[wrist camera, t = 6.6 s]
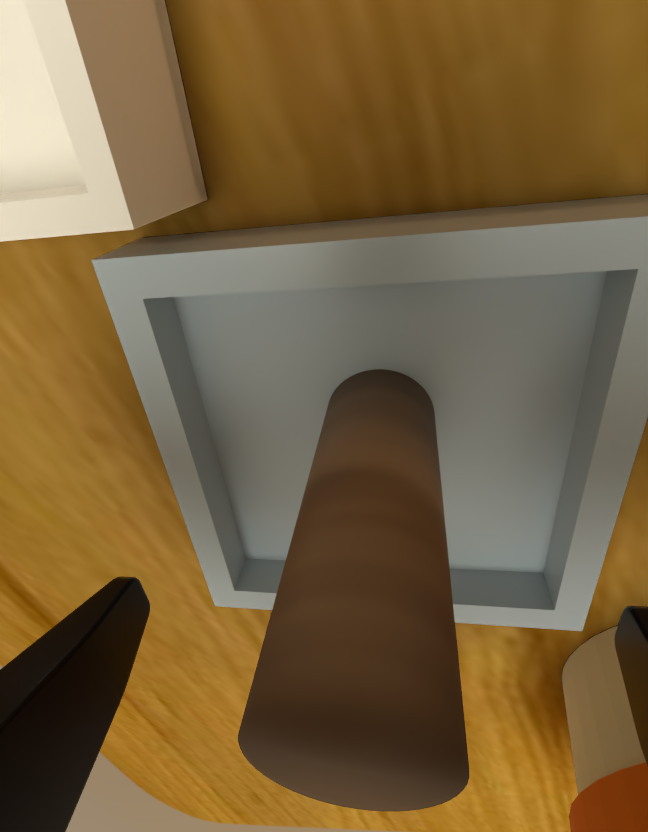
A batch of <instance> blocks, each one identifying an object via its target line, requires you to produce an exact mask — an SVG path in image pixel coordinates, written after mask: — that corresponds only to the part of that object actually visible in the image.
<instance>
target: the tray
mask: <svg viewBox="0 0 648 832" xmlns="http://www.w3.org/2000/svg"><path fill="white" fill-rule="evenodd" d="M92 263H93V266H94V269H95V272H96V274H97V277H98V280H99V283H100V286H101V288H102V291H103V294H104V297H105V300H106V302H107V305H108V308H109V311H110V314H111V316H112V319H113V322H114V325H115V328H116V330H117V333H118V336H119V339H120V342H121V344H122V347H123V350H124V353H125V356H126V358H127V361H128V364H129V367H130V370H131V372H132V375H133V378H134V381H135V384H136V386H137V389H138V392H139V395H140V398H141V400H142V403H143V406H144V409H145V412H146V414H147V417H148V420H149V423H150V426H151V428H152V431H153V434H154V437H155V440H156V442H157V445H158V448H159V451H160V454H161V456H162V459H163V462H164V465H165V468H166V470H167V473H168V476H169V479H170V482H171V484H172V487H173V490H174V493H175V496H176V498H177V501H178V504H179V507H180V510H181V512H182V515H183V518H184V521H185V524H186V526H187V529H188V532H189V535H190V538H191V540H192V543H193V546H194V549H195V552H196V554H197V557H198V560H199V563H200V566H201V568H202V571H203V574H204V577H205V580H206V582H207V585H208V588H209V591H210V594H211V596H212V599H213V602H214V605H215V606H220V607H235V608H249V609H264V610H272V609H273V605H274V602H275V598H276V594H277V591H278V587H279V583H280V580H281V576H282V572H283V569H284V565H285V561H286V558H287V554H288V550H289V547H290V543H291V539H292V536H293V532H294V528H295V525H296V521H297V517H298V514H299V510H300V506H301V503H302V499H303V495H304V492H305V488H306V484H307V481H308V477H309V473H310V470H311V466H312V462H313V459H314V455H315V451H316V448H317V444H318V440H319V437H320V433H321V429H322V426H323V422H324V418H325V415H326V411H327V407H328V404H329V400H330V398H331V396H332V394H333V392H334V391H335V389H336V388H337V387H338V386H339V385H340V384H341V383H342V382H343V381H344V380H346V379H347V378H349V377H350V376H353V375H355V374H357V373H360V372H363V371H367V370H375V369H385V370H392V371H396V372H399V373H402V374H404V375H407V376H409V377H410V378H412V379H414V380H415V381H416V382H418V383H419V384H420V385H421V386H422V387H423V388H424V389H425V391H426V392H427V393H428V395H429V397H430V398H431V401H432V403H433V407H434V413H435V424H436V434H437V444H438V455H439V465H440V475H441V485H442V496H443V506H444V516H445V527H446V537H447V547H448V557H449V568H450V578H451V588H452V599H453V609H454V619H455V623H469V624H484V625H498V626H513V627H527V628H542V629H557V630H571V631H582V630H583V627H584V624H585V621H586V617H587V614H588V611H589V607H590V604H591V601H592V598H593V594H594V591H595V588H596V585H597V581H598V578H599V575H600V571H601V568H602V565H603V562H604V558H605V555H606V552H607V549H608V545H609V542H610V539H611V536H612V532H613V529H614V526H615V522H616V519H617V516H618V513H619V509H620V506H621V503H622V500H623V496H624V493H625V490H626V486H627V483H628V480H629V477H630V473H631V470H632V467H633V464H634V460H635V457H636V454H637V450H638V447H639V444H640V441H641V437H642V434H643V431H644V428H645V424H646V421H647V418H648V194H642V195H630V196H619V197H607V198H595V199H584V200H572V201H561V202H549V203H538V204H526V205H514V206H503V207H491V208H480V209H468V210H457V211H445V212H433V213H422V214H410V215H399V216H387V217H375V218H364V219H352V220H341V221H329V222H318V223H306V224H294V225H283V226H271V227H260V228H248V229H237V230H225V231H213V232H202V233H190V234H179V235H167V236H156V237H144V238H140V239H137V240H135V241H133V242H131V243H128V244H126V245H124V246H122V247H120V248H117V249H115V250H113V251H111V252H108V253H106V254H104V255H102V256H99V257H97V258H95V259H93V260H92Z"/></svg>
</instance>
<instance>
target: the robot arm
mask: <svg viewBox="0 0 648 832" xmlns="http://www.w3.org/2000/svg"><path fill="white" fill-rule="evenodd" d="M149 612H150V603H149V600H148V598H147V596H146V594H145V592H144V589H143V587H142V585H141V583H140V581H139V580H138V579H137V578H135V577H117V578H115V579H113V580H112V581H110V582H109V583H108V584H107V585H105V586H104V587H103V588H102V589H100V590H99V591H98V592H97V593H95V594H94V595H93V596H92V597H90V598H89V599H88V600H87V601H85V602H84V603H83V604H82V605H80V606H79V607H78V608H77V609H75V610H74V611H73V612H72V613H70V614H69V615H68V616H67V617H65V618H64V619H63V620H62V621H60V622H59V623H58V624H57V625H55V626H54V627H53V628H52V629H50V630H49V631H48V632H47V633H45V634H44V635H43V636H42V637H40V638H39V639H38V640H37V641H36V642H34V643H33V644H32V645H31V646H29V647H28V648H27V649H26V650H24V651H23V652H22V653H21V654H19V655H18V656H17V657H16V658H14V659H13V660H12V661H11V662H9V663H8V664H7V665H6V666H4V667H3V668H2V669H1V670H0V832H65V831H66V829H67V827H68V824H69V822H70V820H71V817H72V815H73V812H74V810H75V807H76V805H77V803H78V801H79V798H80V796H81V794H82V791H83V789H84V786H85V784H86V782H87V779H88V777H89V775H90V772H91V770H92V768H93V765H94V763H95V761H96V758H97V756H98V753H99V751H100V749H101V746H102V744H103V742H104V739H105V737H106V734H107V732H108V730H109V727H110V725H111V723H112V720H113V718H114V716H115V713H116V711H117V708H118V706H119V704H120V701H121V699H122V696H123V694H124V691H125V688H126V685H127V682H128V680H129V677H130V673H131V670H132V667H133V664H134V661H135V658H136V654H137V651H138V648H139V645H140V642H141V639H142V635H143V632H144V629H145V626H146V623H147V620H148V616H149ZM614 642H615V649H616V653H617V657H618V661H619V665H620V669H621V673H622V677H623V681H624V685H625V688H626V692H627V696H628V700H629V704H630V708H631V712H632V716H633V720H634V724H635V728H636V732H637V735H638V739H639V742H640V746H641V749H642V752H643V755H644V758H645V761H646V764H647V767H648V607H642V606H627V607H626V608H625V609H624V611H623V613H622V616H621V619H620V621H619V624H618V627H617V629H616V632H615V638H614Z"/></svg>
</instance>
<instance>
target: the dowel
mask: <svg viewBox="0 0 648 832" xmlns="http://www.w3.org/2000/svg"><path fill="white" fill-rule="evenodd" d="M238 742H239V746H240V749H241V751H242V753H243V754H244V756H245V757H246V759H247V760H248V761H249V762H250V763H251V764H252V765H253V766H254V767H255V768H256V769H257V770H258V771H260V772H261V773H262V774H263V775H265V776H266V777H268V778H269V779H271V780H272V781H274V782H276V783H278V784H280V785H281V786H283V787H285V788H288V789H290V790H292V791H294V792H297V793H299V794H302V795H304V796H307V797H310V798H313V799H316V800H319V801H323V802H326V803H330V804H334V805H339V806H343V807H349V808H355V809H362V810H371V811H410V810H418V809H424V808H428V807H433V806H436V805H439V804H442V803H444V802H447V801H449V800H451V799H452V798H454V797H456V796H457V795H458V794H459V793H460V792H461V791H463V789H464V788H465V786H466V785H467V783H468V779H469V763H468V753H467V743H466V733H465V722H464V712H463V702H462V691H461V681H460V671H459V660H458V650H457V640H456V630H455V619H454V609H453V599H452V588H451V578H450V568H449V557H448V547H447V537H446V527H445V516H444V506H443V496H442V485H441V475H440V465H439V455H438V444H437V434H436V424H435V413H434V407H433V403H432V401H431V398H430V397H429V395H428V393H427V392H426V391H425V389H424V388H423V387H422V386H421V385H420V384H419V383H418V382H416V381H415V380H414V379H412V378H410V377H409V376H407V375H404V374H402V373H399V372H396V371H392V370H385V369H375V370H367V371H363V372H360V373H357V374H355V375H353V376H350V377H349V378H347V379H346V380H344V381H343V382H342V383H341V384H340V385H339V386H338V387H337V388H336V389H335V391H334V392H333V394H332V396H331V398H330V400H329V404H328V407H327V411H326V415H325V418H324V422H323V426H322V429H321V433H320V437H319V440H318V444H317V448H316V451H315V455H314V459H313V462H312V466H311V470H310V473H309V477H308V481H307V484H306V488H305V492H304V495H303V499H302V503H301V506H300V510H299V514H298V517H297V521H296V525H295V528H294V532H293V536H292V539H291V543H290V547H289V550H288V554H287V558H286V561H285V565H284V569H283V572H282V576H281V580H280V583H279V587H278V591H277V594H276V598H275V602H274V605H273V609H272V613H271V616H270V620H269V624H268V627H267V631H266V635H265V638H264V642H263V646H262V649H261V653H260V657H259V660H258V664H257V668H256V671H255V675H254V679H253V682H252V686H251V690H250V693H249V697H248V701H247V704H246V708H245V712H244V715H243V719H242V723H241V726H240V730H239V734H238Z"/></svg>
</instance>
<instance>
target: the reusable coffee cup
mask: <svg viewBox="0 0 648 832" xmlns="http://www.w3.org/2000/svg"><path fill="white" fill-rule="evenodd" d="M617 627H618V626H615V627H612V628H610V629H608V630H606V631H604V632H602V633H600V634H597V635H595V636H593V637H592V638H590V639H589V640H588V641H586V642H585V643H583V644H582V645H580V646H579V647H578V648H577V649H576V650H575V651H574V652H573V653H572V654H571V655H570V657H569V658H568V660H567V662H566V664H565V666H564V667H563V673H562V685H563V692H564V699H565V706H566V713H567V720H568V727H569V734H570V741H571V748H572V755H573V762H574V769H575V776H576V783H577V790H578V796H577V798H576V799H575V800H574V802H573V803H572V805H571V810H570V815H569V819H570V827H571V832H648V767H647V764H646V761H645V758H644V755H643V752H642V749H641V746H640V742H639V739H638V735H637V732H636V728H635V724H634V720H633V716H632V712H631V708H630V704H629V700H628V696H627V692H626V688H625V685H624V681H623V677H622V673H621V669H620V665H619V661H618V657H617V653H616V649H615V642H614V638H615V632H616V629H617Z"/></svg>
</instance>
